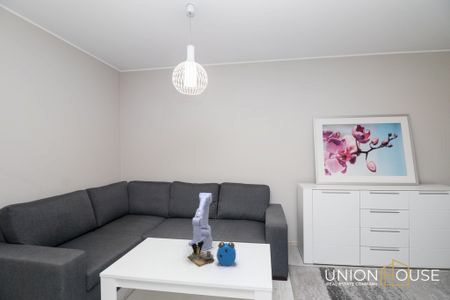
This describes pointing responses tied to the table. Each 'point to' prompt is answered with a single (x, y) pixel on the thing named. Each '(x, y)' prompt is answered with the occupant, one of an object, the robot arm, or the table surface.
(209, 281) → the table surface
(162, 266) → the table surface
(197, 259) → the wooden board with socket
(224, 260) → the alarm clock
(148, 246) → the table surface
